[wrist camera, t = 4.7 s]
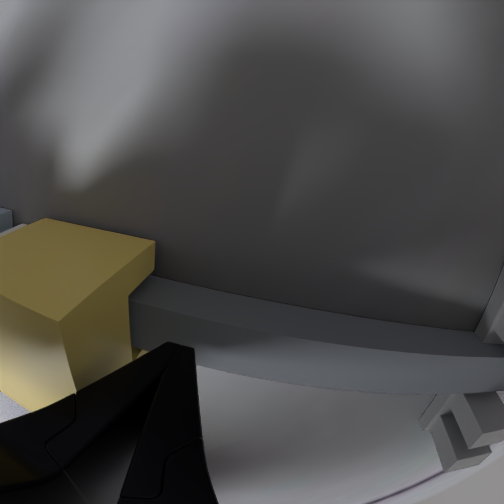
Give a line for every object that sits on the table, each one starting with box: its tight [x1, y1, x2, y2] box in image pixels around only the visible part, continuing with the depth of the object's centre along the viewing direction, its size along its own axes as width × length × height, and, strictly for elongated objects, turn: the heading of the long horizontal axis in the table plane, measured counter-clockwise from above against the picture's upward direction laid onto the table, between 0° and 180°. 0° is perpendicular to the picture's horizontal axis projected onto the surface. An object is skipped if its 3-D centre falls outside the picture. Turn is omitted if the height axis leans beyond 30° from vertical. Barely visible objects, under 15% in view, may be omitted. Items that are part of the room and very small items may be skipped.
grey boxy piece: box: [419, 265, 504, 473], centre depth 8 cm, size 3×9×4 cm, turn 170°
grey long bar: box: [0, 208, 504, 394], centre depth 8 cm, size 28×4×4 cm, turn 80°
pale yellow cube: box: [0, 218, 156, 412], centre depth 8 cm, size 5×5×5 cm
